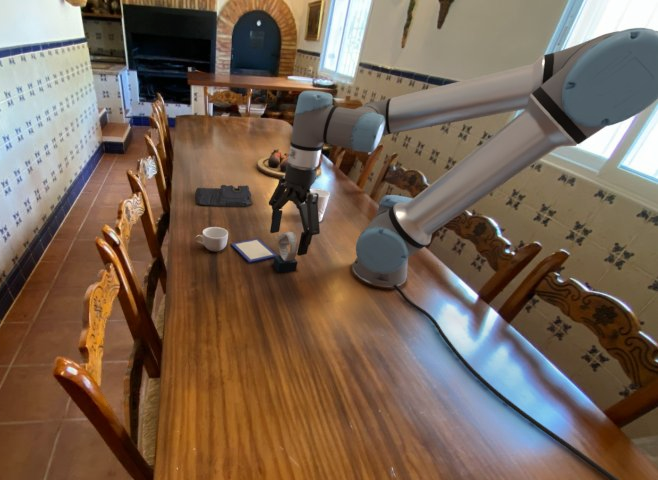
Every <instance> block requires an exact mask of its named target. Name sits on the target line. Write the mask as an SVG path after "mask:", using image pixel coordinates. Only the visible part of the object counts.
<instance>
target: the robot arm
mask: <svg viewBox="0 0 658 480" xmlns="http://www.w3.org/2000/svg"><path fill="white" fill-rule="evenodd" d="M657 100H658V30H655V29H653V28H648V27H647V28H646V27H633V28H632V27H631V28H627V29H623V30H616V31H613V32H607V33H604V34H601V35H599V36H596V37H594V38H591V39H589V40H586V41H583V42H581V43H579V44H576V45H573V46H570V47H567V48H564V49H561V50H558V51H557V50H556V51H554V52H551V53H546V54H542V55H541V56H540V57H539V58H538V59H537V60H536V61H535V62H534V63H531V64H527V65H523V66H522V65H521V66H518V67H514V68H510V69H506V70H502V71H497V72H494V73H489V74H486V75H485V74H484V75H481V76H477V77H473V78H469V79H464V80H461V81H456V82H452V83H448V84H444V85H443V84H442V85H440V86H436V87H435V86H434V87H430V88H427V89H423V90H419V91H415V92H414V91H413V92H411V93H407V94H402V95H398V96H395V97H391V98H386V99H381V100H378V101H377V100H373V101H369V102H366V103H364V104H363V105H361V106H359V107H357V108H348V107H341V106H337V105H335V104H333V103H334V102H333V95H332V94H331V93H329V92H326V91H321V90H303V91H302V92H301V93H299V94H298V98H297V103H296V107H295V112H294V117H293V123H292V124H293V125H292V131H291V138H290V139H291V140H290V143H289V144H290V145H289V150H288V154H289V156H288V163H289V164H288V165H287V167H286V173H285V176H284V177H280V178H278V183H277V186H276V187H275V189H274V191H273V193H272V195H271V196H270V199H269V201H268V205H269V206H271V210H272V213H271V224H270V228H269V229H270V230H269V233H270V234H276V233H279V232H280V229H281V224H282V223H281V222H282V217H283V212H284V211H283V209H284V208H283V207H285V205H287V204H288V202H292V203H293V204H294V205H295V206H296V209H297V210H298V212H299V216H300V221H301V225H302V230H303V231H302V232H301V234H300V237H299V243H298V246H297V254H296V256H298V257H300V256H305V255H307V254H308V250H309V246H310V245H311V243H312V238H313V236H316V235H319V234H320V233H321V232H320V230H321V229H320V222H319V215H318V198H319V195H318V193H315V194H313V193H311V192H310V189H311V187H312V186H313V184H315V182H316V178H317V177H316V173H317V168H316V167H317V166H318V165H319V160H320V159H321V154H322V149H323V145H324V144H326V145H330V146H334V147H335V146H336V147H340V148H344V149H348V150H352V151H355V152H362V153H373V152H374V151H376V149H377V147H378V146H379V144H380V142H381V139H382V137H383V136H388V135H392V134H397V133H403V132H407V131H413V130H419V129H424V128H429V127H430V128H431V127H437V126H441V125H447V124H453V123H457V122H462V121H468V120H473V119H479V118H485V117H490V116H495V115H500V114H507V113H511V112H517V111H522V110H523V111H522V112H520V113H519V114H518V115H517V116H515V117H514V118H513V119H512V120H510V121H509V122H507V123H506V124H505V125H504V126H503V127H501V128H500V129H499V130H498V131H496V132H495V133H494V134H493V135H491V136H490V137H489V138H488V139H486V140H485V141H484V142H483V143H482V144H480V145H479V146H478V147H476V148H475V149H474V150H473V151H471V152H470V153H469V154H468V155H466V156H465V157H464V158H463V159H461V160H460V161H459V162H458V163H456V164H455V165H454V166H452V167H451V168H450V169H449V170H448V171H446V172H445V173H444V174H442V175H441V176H439V178H437V179H436V180H434V181H433V182H432V183H430V185H429V186H427V187H426V188H424V190H422V191H421V192H419V193H418V194H417V195H416V196H415V197H413V198H412V197H408V196H403V195H397V194H387V195H384V196H383V197H382V198H381V200H380V201H379V203H378V208H377V211H376V214H375V216H374V217H373V218H372V220H370V222H369V224H368V225H367V226H366V228H365V229H364V230H363V231H362V232H361V233H360V234H359V236H358V238H357V241H356V245H355V254H356V258H355V259H354V261H353V263H352V267H351V273H352V275H353V276H354V278H355V279H357V280H358V281H360V282H361V283H363V284H364V285H367V286H369V287H372V288H375V289H378V290H379V289H380V290H389V291H390V290H396V291H397V292H398V293H399V295H401V297H402V298H403V299H404V300H405V302H406V303H408V304H409V305H410V306H412V307H413V308H414V309H416V310H417V311H419V312H420V313H422V314H423V315H424V316H426V317H427V318H428V319H429V320H430V321H431V322H432V324H433V325H434V327H435V328H436V331H437V332H438V333H439V335H440V336H441V338H442V339H443V341H444V342H445V343H446V345H447V346H448V348H450V351H452V353H453V354H454V355H455V356H456V357H457V359H458V360H459V361H460V362H461V363H462V364H463V366H465V368H466V369H468V371H469V372H470V373H471V374H472V375H473V376H474V377H475V378H476V379H477V380H478V381H479V382H480V383H481V384H483V386H485V387H486V388H487V389H488V390H489V391H490V392H492V394H494V395H495V396H496V397H497V398H499V399H500V400H501V401H502V402H504V403H505V404H506V405H508V406H509V407H510V408H511V409H513V410H514V411H515V412H517V414H519V415H521V417H522V418H524V419H526V420H527V421H528V422H529V423H531V424H532V425H534V426H535V427H537V428H538V429H539V430H541V431H542V432H544V433H545V434H547V435H548V436H550V437H551V439H554V440H555V441H557V442H558V443H559V444H560V445H562V446H563V447H564V448H566V449H567V450H569V451H570V452H571V453H573V454H574V455H576V456H577V457H579V458H580V459H582V460H583V461H584V462H585V463H587V464H588V465H589V466H591V467H592V468H594V469H595V470H596V471H598V472H599V473H601V474H602V475H603V476H605V477H606V478H607V479H609V480H620V479H619V478H618V477H616V476H615V475H613V474H612V473H610V472H609V471H608V470H606V469H605V468H604V467H602V466H601V465H599V464H598V463H596V462H595V461H594V460H592V459H591V457H588V456H587V455H586V454H584V453H583V452H581V451H580V450H579V449H577V448H576V447H574V446H573V445H572V444H570V443H569V442H567V441H566V440H565V439H563V438H562V437H561V436H559V435H557V434H556V433H555V432H554V431H552V430H550V429H548V427H546V426H545V425H543V424H542V423H540V422H539V421H538V420H536V419H535V418H533V417H532V416H531V415H529V414H528V413H526V412H525V411H524V410H523V409H521V408H520V407H518V406H517V404H515V403H513V402H512V401H511V400H510V399H508V398H507V397H506V396H504V395H503V394H502V393H501V392H499V391H498V390H497V389H496V388H494V387H493V386H492V384H490V383H489V382H488V381H487V380H486V379H485V378H484V377H482V375H480V374H479V373H478V372H477V371H476V370H475V369H474V368H473V367H472V365H470V364H469V363H468V361H467V360H466V359H465V358H464V357H463V355H461V354H460V352H459V351H458V350H457V348H455V346H454V345H453V343H452V342H451V341H450V339H449V338H448V337H447V336H446V334H445V333H444V331H443V330H442V328H441V326H440V324H439V323H438V322H437V320H436V319H435V318H434V317H433V316H432V315H431V314H430V313H429V312H428V311H426V310H425V309H423V308H422V307H420V306H419V305H417V304H416V303H414V302H413V301H411V300H410V299H409V298H408V297H407V295H406V294H405V293H404V292H403V290H402V289H401V288H402V287H403V286H404V285H405V283H406V281H407V278H408V262H409V261H408V260H409V258H410V257H411V256H413V255H414V254H416V253H417V252H419V251H420V250H422V249H423V248H425V247H426V246H428V245H429V244H430V243H431V241H432V237H433V233H435V232H436V231H438V230H440V229H441V228H442V227H443V226H445V225H446V224H448V223H450V222H451V221H452V220H453V219H455V218H457V217H458V216H459V215H461V214H463V213H464V212H465V211H468V209H470V208H471V207H473V206H475V205H476V204H477V203H479V202H480V201H482V200H483V199H485V198H486V197H487V196H489V195H490V194H492V193H494V192H495V191H496V190H498V189H500V188H501V187H502V186H504V185H505V184H507V183H508V182H510V181H511V180H512V179H514V178H515V177H517V176H518V175H520V174H521V173H523V172H524V171H525V170H527V169H529V168H530V167H531V166H533V165H535V164H536V163H537V162H540V160H542V159H543V158H545V157H546V156H547V155H549V154H551V153H552V152H554V151H555V150H556V149H558V148H563V147H577V146H578V145H580V144H582V143H583V142H584V141H586V140H587V139H589V138H592V136H594V135H596V134H597V133H599V132H600V131H602V130H603V129H604V128H606V127H609V126H614V125H617V124H619V123H623V122H625V121H628V120H629V119H631V118H634V117H635V116H637V115H639V114H641V113H642V112H644V111H645V110H647V109H648V108H650V107H651V105H653V104H654V103H656V101H657Z"/></svg>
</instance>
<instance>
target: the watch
mask: <svg viewBox="0 0 658 480" xmlns="http://www.w3.org/2000/svg"><path fill="white" fill-rule="evenodd" d="M275 239H276V241H277V245H278V249H279V250H278V251H279V255H277V256H275V257H274V258H273V264H272V266H273V267H274V268H275V270H276V272H277V273H278V274H280V273H291V272H297V268H298V267H297V266H298V263H299V262H298V260H297V259H296V256H297V252H298V239H297V236H296V234H295V233H294V232H292V231H286V232H282V233H280V234H279V235H278V236H277V237H276V238H275ZM288 246H289V252H288Z"/></svg>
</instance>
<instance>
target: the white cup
mask: <svg viewBox="0 0 658 480" xmlns="http://www.w3.org/2000/svg"><path fill="white" fill-rule="evenodd" d="M310 192H311V193H313V194H315V193H318V195H319V198H318V215H319V223H320V222H322V221H323V218H324V214H325V212H326V209H327V205H328V201H329V198H330V195H331V193H330V192H329V191H327V190H325V189H322V188H310Z"/></svg>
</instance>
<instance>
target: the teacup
mask: <svg viewBox="0 0 658 480" xmlns="http://www.w3.org/2000/svg"><path fill="white" fill-rule="evenodd" d="M198 238H200V239H201V240H202V241H200V240H198ZM228 238H229V231H228V230H227V229H226V228H223V227H219V226H209V227H206V228H204V229H203V230H202V234H197V235H196V236H195V242H196V243H198V244H200V245H203V246H204V247H205V248H206V249H207V250H208V251H210V252H220V251H223V250H224V249H225V248H226V247H227V244H228Z"/></svg>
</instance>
